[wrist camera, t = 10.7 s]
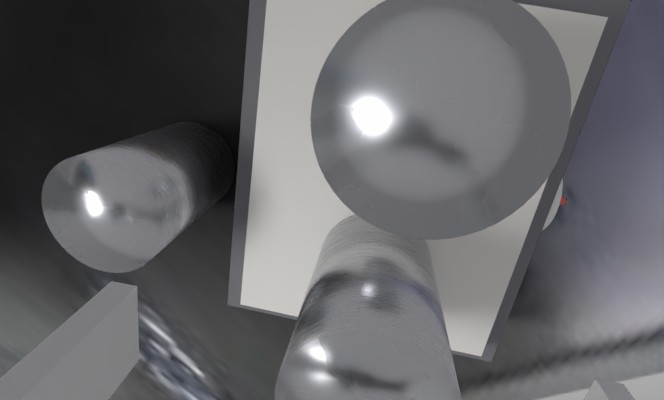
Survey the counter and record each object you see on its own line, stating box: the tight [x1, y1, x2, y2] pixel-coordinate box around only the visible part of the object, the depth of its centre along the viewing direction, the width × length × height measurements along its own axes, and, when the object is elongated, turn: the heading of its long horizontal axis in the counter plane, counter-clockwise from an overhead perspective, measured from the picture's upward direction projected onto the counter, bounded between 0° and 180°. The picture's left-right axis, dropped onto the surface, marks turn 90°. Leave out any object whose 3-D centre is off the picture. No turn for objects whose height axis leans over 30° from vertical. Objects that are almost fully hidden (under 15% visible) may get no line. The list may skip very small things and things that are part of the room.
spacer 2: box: [310, 0, 571, 240], centre depth 12 cm, size 5×5×8 cm
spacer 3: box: [275, 214, 461, 400], centre depth 14 cm, size 5×5×8 cm
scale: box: [227, 0, 631, 362], centre depth 19 cm, size 15×17×5 cm
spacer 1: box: [41, 121, 235, 273], centre depth 19 cm, size 5×5×8 cm
